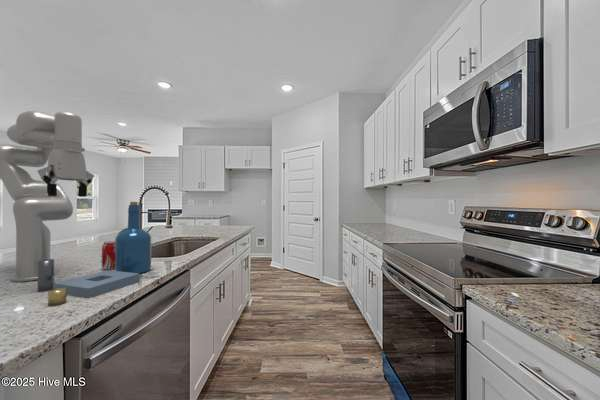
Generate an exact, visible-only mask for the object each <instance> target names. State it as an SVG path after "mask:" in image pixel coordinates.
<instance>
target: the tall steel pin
mask: <svg viewBox="0 0 600 400" xmlns="http://www.w3.org/2000/svg"><path fill="white" fill-rule="evenodd" d="M54 271H55V259H54V258H50V259H45V260H39V261H38V280H37V292H39V293H43V292H48V291H50V290H53V289H54V283H55V275H54Z"/></svg>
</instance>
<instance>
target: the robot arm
mask: <svg viewBox="0 0 600 400" xmlns="http://www.w3.org/2000/svg"><path fill="white" fill-rule="evenodd" d="M82 120H83V119H82V118H81V116H79V115H78V114H76V113H72V112H67V111H59V112H56V113H55V114H49V113H45V112H40V111H34V110H28V111H25V112H21V113H20V114H19V115H17V118H16V121H15V124H13V125H11V126H9V128H7V131H6V136H7V137H8V139H9V140H10V141H12V142H13V143H15V144H17V145H15V144H7V143H0V180H1V181H2V183H3V185H4V187H5V189H6V190H7V192H8V194H9V196H10V197H11V199H12V200H13V201H14V203H13V205H12V213H13V217H14V222H15V231H16V233H15V234H16V235H15V239H16V240H15V244H16V245H15V268H14V269H13V270H14V271H15V274H14V275H12V276H11V277H10V276H9V281H10V282H13V283H18V282H19V283H22V282H23V283H24V282H31V281H32V282H33V281H38V261H39V260H45V259H51V230H50V228H49V227H48V226H47V225H46V224H45V223H44V222H46V221H62V220H67V219H69V218H70V217H72V216H73V213H74V207H73V206H74V205H73V204H72V202H71V200H70V198H69V197H68V195H67V193H66V192H65V191H64V189H63V187H62V186H61V184H60V183H58V182H57V181H58V180H59V181H60V180H61V181H70V182H72V181H76V182H77V184H79V186H78V197H84V198H85V197H87V196H88V195H87V193H88V186H89V185H90V184H91V183H92V181H93V179H94V177H95V175H94V174H93V173H91V172H90V171H88V170H87V167H86V166H87V165H86V160H85V156H84V153H83V152H85V147H83V144H82V143H83V142H82V140H83V139H82V137H83V134H82V133H83V129H82V126H83V121H82ZM46 164H47V167H45V165H46ZM22 167H29V168H40V169H37V173H38V175H39V177H40V179H41V180H36V179H33V178H32V175H31V174H30V173H29V172H28V171H27V170H25V169H24V168H22ZM55 275H56V271H55V270H54V276H55Z"/></svg>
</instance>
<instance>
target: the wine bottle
mask: <svg viewBox="0 0 600 400" xmlns="http://www.w3.org/2000/svg"><path fill="white" fill-rule="evenodd" d="M140 212H141V211H140V204H138V201H130V204H128V209H127V213H128V215H127V227H125V228H123V229H122V230H120V231H119V232H118V234H117V235H116V236H115V239H114V241H115V269H114V271H121V272H130V273H139V274H140V275H141V274H145V273H147V272H148V271H151V270H150V269H151V268H152V236H151V235H152V234H150V233H149V231H147V230H146V229H145V230H144V229H143V228H141V227H140V226H141V225H140V224H141V223H140V221H141V219H140Z"/></svg>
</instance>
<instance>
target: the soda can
mask: <svg viewBox="0 0 600 400" xmlns="http://www.w3.org/2000/svg"><path fill="white" fill-rule="evenodd" d="M101 268H102V269H103V270H104V271H107V270H111V269H113V270H115V240H107V241H104V242H103V245H101Z"/></svg>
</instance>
